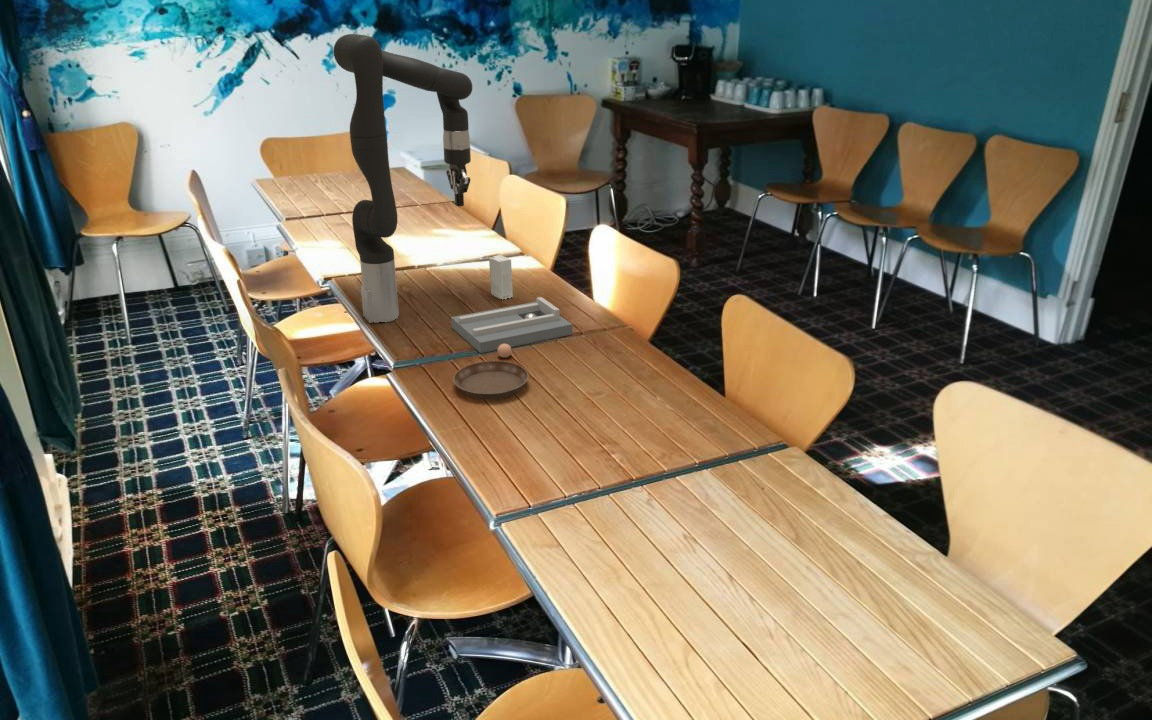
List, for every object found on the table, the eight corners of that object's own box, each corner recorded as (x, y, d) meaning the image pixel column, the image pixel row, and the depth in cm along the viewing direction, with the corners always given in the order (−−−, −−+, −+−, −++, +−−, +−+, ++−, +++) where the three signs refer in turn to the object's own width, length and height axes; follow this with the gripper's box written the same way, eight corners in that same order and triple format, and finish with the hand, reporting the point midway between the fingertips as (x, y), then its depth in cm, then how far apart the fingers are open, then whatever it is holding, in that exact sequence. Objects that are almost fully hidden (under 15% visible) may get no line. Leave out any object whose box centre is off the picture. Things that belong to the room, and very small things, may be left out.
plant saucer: (459, 408, 200) (458, 396, 198) (449, 375, 215) (448, 364, 214) (535, 399, 204) (535, 388, 203) (520, 368, 219) (520, 357, 218)
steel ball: (531, 332, 242) (525, 321, 240) (525, 327, 245) (518, 317, 243) (543, 323, 243) (536, 312, 240) (536, 318, 246) (529, 308, 244)
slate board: (480, 353, 227) (479, 331, 224) (451, 327, 243) (450, 306, 240) (572, 334, 239) (572, 313, 236) (538, 310, 255) (538, 291, 252)
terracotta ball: (501, 361, 223) (500, 347, 221) (495, 355, 226) (494, 342, 224) (514, 358, 224) (513, 345, 223) (508, 353, 227) (507, 340, 226)
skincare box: (513, 297, 265) (512, 259, 260) (501, 300, 262) (500, 261, 257) (501, 292, 269) (500, 254, 264) (489, 295, 266) (488, 256, 261)
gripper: (435, 143, 253) (439, 202, 260) (453, 151, 243) (456, 212, 250) (460, 140, 256) (462, 199, 264) (478, 148, 246) (480, 209, 253)
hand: (459, 205), depth 257 cm, fingers closed
